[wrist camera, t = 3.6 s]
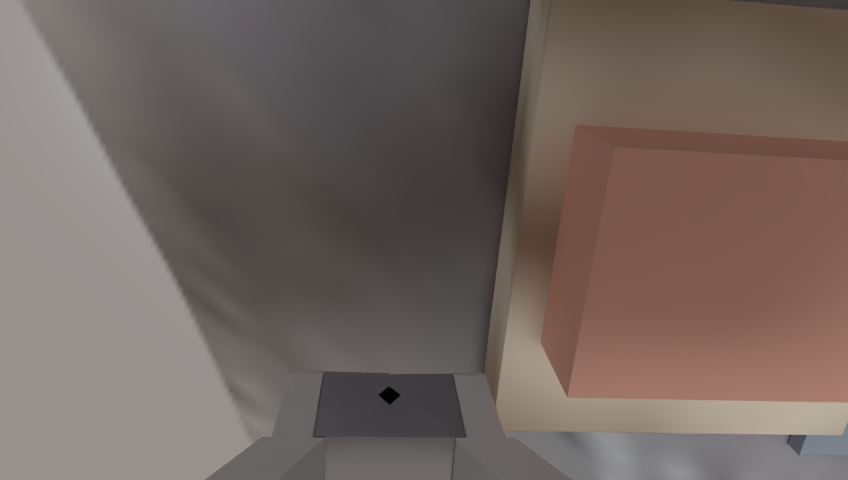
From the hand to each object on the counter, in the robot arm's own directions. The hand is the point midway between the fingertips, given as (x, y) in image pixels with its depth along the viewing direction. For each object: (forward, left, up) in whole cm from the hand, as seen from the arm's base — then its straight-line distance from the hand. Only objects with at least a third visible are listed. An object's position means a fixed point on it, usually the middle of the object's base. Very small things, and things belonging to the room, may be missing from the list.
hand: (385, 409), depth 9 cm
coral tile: (-1, +9, -6) cm, 11 cm away
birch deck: (-1, +9, -8) cm, 12 cm away
